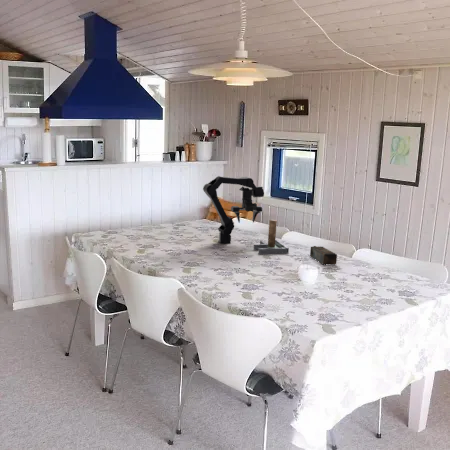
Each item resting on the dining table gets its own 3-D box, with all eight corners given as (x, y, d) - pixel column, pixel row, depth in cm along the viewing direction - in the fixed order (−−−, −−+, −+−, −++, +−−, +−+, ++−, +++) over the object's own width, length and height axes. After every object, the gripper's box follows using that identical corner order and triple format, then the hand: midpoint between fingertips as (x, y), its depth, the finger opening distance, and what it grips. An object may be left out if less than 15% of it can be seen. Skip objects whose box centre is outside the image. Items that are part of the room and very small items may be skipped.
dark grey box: (322, 256, 310) (323, 245, 309) (337, 265, 292) (338, 253, 291) (309, 256, 308) (310, 245, 307) (323, 265, 290) (324, 254, 289)
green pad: (267, 248, 323) (267, 247, 323) (262, 245, 331) (262, 244, 331) (278, 248, 325) (278, 247, 325) (273, 244, 333) (274, 244, 333)
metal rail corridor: (258, 254, 310) (259, 249, 309) (248, 245, 329) (248, 240, 329) (288, 253, 314) (288, 248, 313) (276, 244, 334) (276, 239, 333)
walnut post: (269, 247, 324) (270, 221, 321) (266, 245, 328) (268, 219, 325) (275, 247, 325) (277, 221, 322) (273, 245, 329) (275, 219, 326)
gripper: (235, 199, 325) (235, 225, 328) (265, 199, 329) (264, 224, 332) (231, 197, 335) (230, 221, 338) (260, 196, 340) (259, 221, 343)
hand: (246, 222), depth 338 cm, fingers open, 9 cm apart
